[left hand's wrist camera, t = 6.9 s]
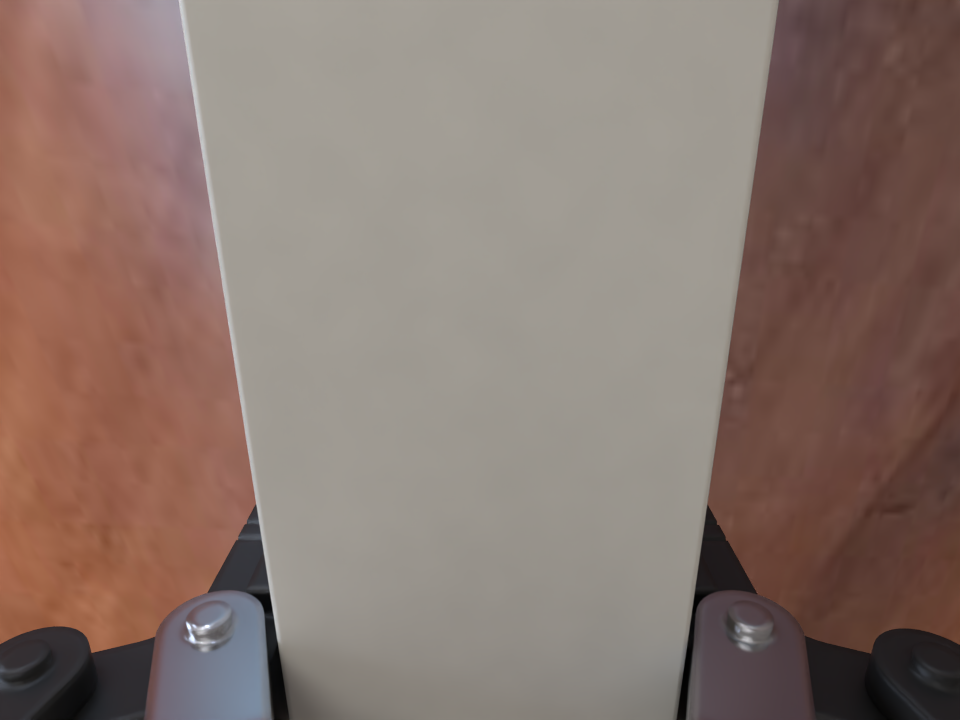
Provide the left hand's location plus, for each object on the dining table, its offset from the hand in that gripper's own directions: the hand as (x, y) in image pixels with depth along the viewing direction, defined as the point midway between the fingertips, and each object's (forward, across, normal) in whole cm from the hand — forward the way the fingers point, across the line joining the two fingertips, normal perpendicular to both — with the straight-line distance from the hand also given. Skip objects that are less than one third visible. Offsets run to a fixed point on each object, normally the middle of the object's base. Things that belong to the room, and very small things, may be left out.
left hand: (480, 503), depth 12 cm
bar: (+3, 0, -18) cm, 18 cm away
